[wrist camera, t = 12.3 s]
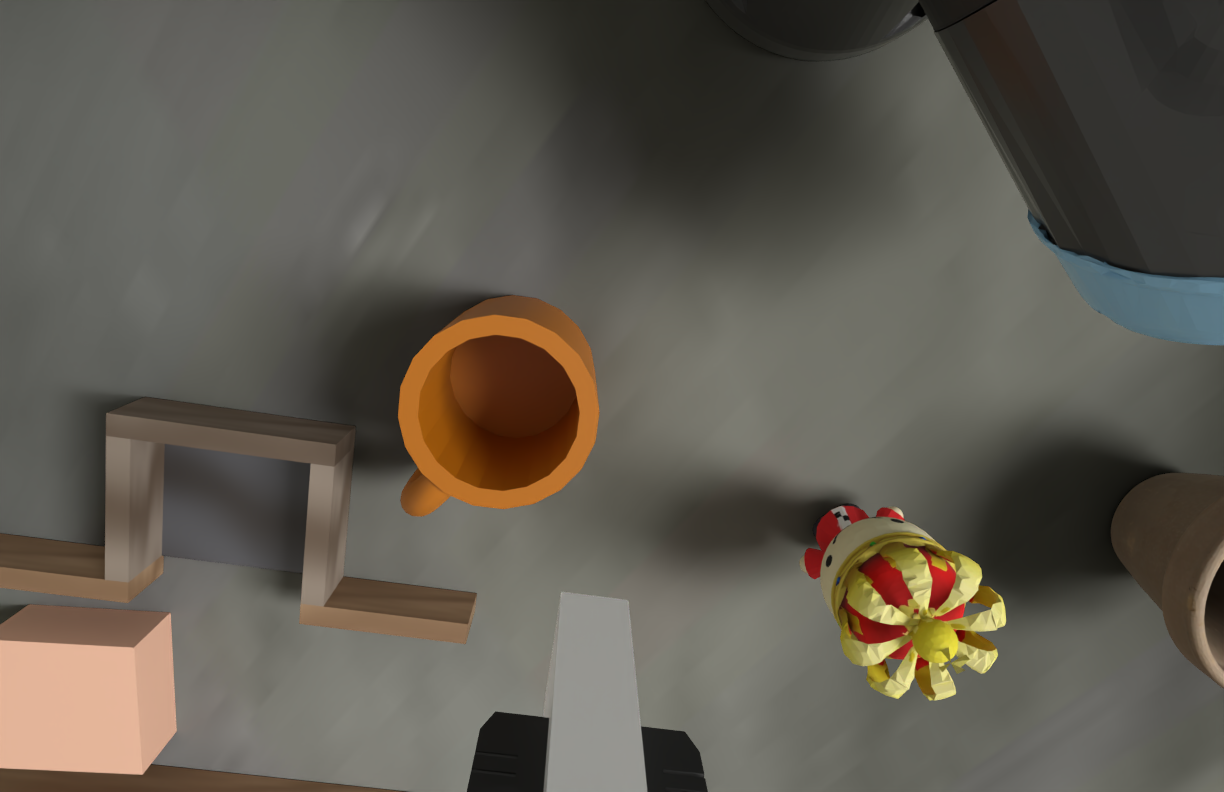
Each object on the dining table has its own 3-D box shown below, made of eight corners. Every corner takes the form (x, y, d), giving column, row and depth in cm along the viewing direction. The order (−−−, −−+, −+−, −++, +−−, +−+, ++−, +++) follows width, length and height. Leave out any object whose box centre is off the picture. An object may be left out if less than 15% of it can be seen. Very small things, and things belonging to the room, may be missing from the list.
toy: (863, 443, 44) (1001, 558, 29) (921, 539, 45) (1081, 694, 31) (756, 509, 45) (840, 653, 30) (817, 602, 46) (925, 782, 32)
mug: (357, 393, 42) (297, 436, 33) (529, 261, 41) (513, 269, 32) (460, 515, 44) (429, 586, 35) (628, 391, 43) (639, 433, 34)
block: (32, 602, 45) (-21, 639, 41) (172, 610, 45) (134, 647, 41) (44, 721, 47) (-6, 767, 43) (178, 727, 47) (142, 774, 43)
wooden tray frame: (-66, 367, 41) (-125, 381, 38) (495, 445, 43) (488, 465, 40) (-49, 760, 47) (-99, 803, 43) (448, 812, 49) (438, 857, 45)
